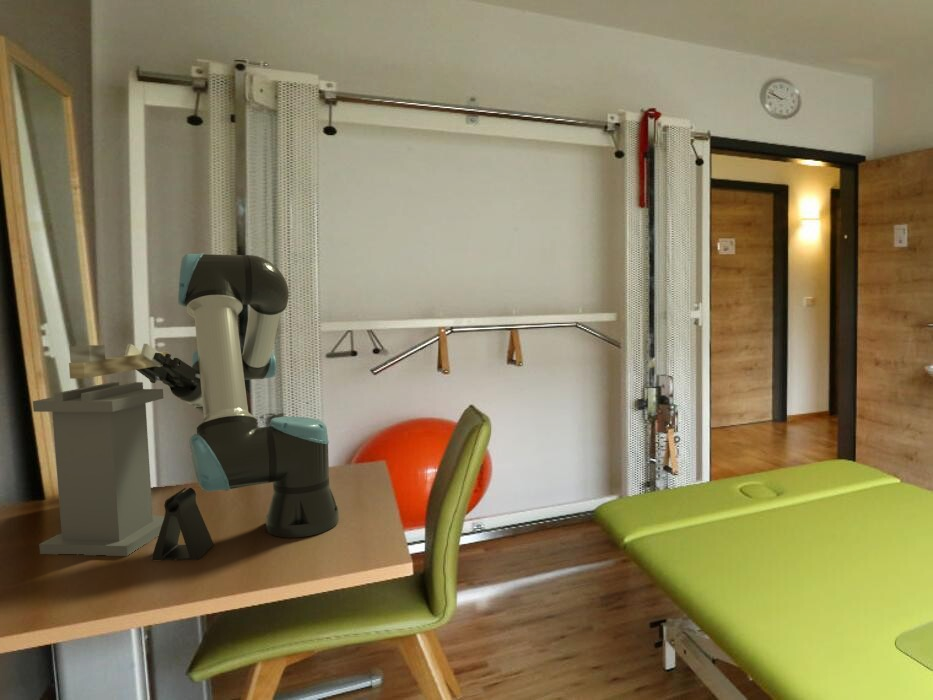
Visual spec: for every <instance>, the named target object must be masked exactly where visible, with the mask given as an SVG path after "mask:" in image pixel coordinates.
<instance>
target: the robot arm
mask: <svg viewBox="0 0 933 700" xmlns="http://www.w3.org/2000/svg"><path fill="white" fill-rule="evenodd" d="M177 295H178V298H177V301H178V305H179V306H182V307H185V310H186V313H187V314H188V315H189V316H190V317H191V318H193V319H194V324H195V335H196V336H195V337H196V347H197V349H196V350H195V351H193V353H192V354H191V365H189V364H187V363H186V362H184V361H183V360H182V359H180V358H179V357H174V358H173V359H172V358H171V357H172V354H170V353H169V354H166V355H165V356H164V355H162V354H161V353H159V352H158V350H156V349H155V348H154V347H152V346H151V345H150V344H148V343H143V346H142V349H139V348H138V347H137V346H135V345H133V344H132V343H127V346H126V349H125V352H124V356H125V355H133V354H140V355H142V356H143V357H144V358H146V359H147V360H149V361H150V362H152V363H153V364H155V365H156V366H154V367H148V368H143V369H137V370H136V371H137V372H138V373H140V375H141V374H142V376H144V377H145V378H147V379H148V380H149V383H152V384H155V383H156V382H159V381H160V382H162V383H163V384H164V385H167V386H169V390H170V392H171V393H172V394H173V395H174V396H175V397H177V398H178V399H180V400H181V401H183V402H185V403H186V404H188V405H190V406H191V407H192V408H193V409H196V410H197V411H198V412H200V413H202V414H203V419H202V420H201V421H200V422H199V423H198V424H197V426H196V433H194V434H193V435H191V436H190V437H189V446H190V452H191V459H192V464H193V468H194V469H193V470H194V472H195V476H196V479H197V482H198V485H199V487H200V489H202V490H203V491H205V492H208V493H214V492H221V491H225V492H228V491H230V490H234V489H235V490H236V489H239V488H245V487H251V486H257V485H265V484H268V483H269V484H271V483H273V484H272V485H273V487H272V488H273V491H272V492H273V493H272V497H271V500H270V504H269V508H268V511H267V515H266V518H265V523H266V524H265V527H266V531H267V533H269V534H271V536H272V535H273V536H275V537H280V538H291V539H292V538H304V537H311V536H314V535H319V534H321V533H324V532H327V531H329V530H331V529H332V528H334V527H335V526H337V524H338V523H339V521H340V520H339V519H340V516H339V514H340V512H339V507H338V505H337V503H336V499H335V498H334V497H335V496H334V495H333V491H332V489H331V487H330V461H329V443H330V440H329V438H328V437H329V436H328V435H329V434H328V428H327V425H326V424H325V423H324V422H323V421H321V420H320V419H317V418H312V417H307V416H306V417H305V416H279V417H274V418H271V419H270V422H269V426H263V427H262V426H261V427H259V425H258V419H257V416H254V415H253V414H252V413H250V412H249V407H248V399H247V397H248V396H247V391H246V384H245V382H246V380H247V381H248V380H249V381H250V380H265V379H269V378H274V377H275V376H276V373H277V360H276V356H275V353H273V348H274V343H275V339H276V336H277V331H278V326H279V322H280V318H281V314H282V313H283V312H284V311H285V310H286V308H287V306H288V302H289V295H290V292H289V286H288V283H287V281H286V277H284V275H283V273H282V272H281V271H280V269H279V268H278V267H277V266H275V265H274V264H273V263H272V262H271V261H269V260H267V259H266V258H264V257H260V256H258V255H254V254H253V255H252V254H209V253H207V254H206V253H205V252H202V253H186V254H185V255H183V256H182V258H181V260H180V268H179V281H178V294H177ZM243 305H244V306H245V305H246V306H247V305H248V306H249V311H248V313H249V314H248V317H247V323H246V324H247V325H246V331H245V336H244V344H243V350H241V349H242V348H241V342H240V335H239V325H238V318H237V316H239V314H240V313H242V310H243V309H244V307H243ZM161 364H162V365H161Z"/></svg>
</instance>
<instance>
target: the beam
mask: <svg viewBox="0 0 933 700" xmlns="http://www.w3.org/2000/svg"><path fill="white" fill-rule="evenodd" d="M157 351H158V350H157ZM158 352H159V353H161V354H162V355H164V356H165V355H166V354H170V352H169V350H167V351H163V350H161V351H158ZM69 357H70V359H69V360H70V361H69V363H68V368H69V379H72V380H73V379H82V380H83V379H89V378H95V377H102V376H108V375H111V374H114V375H115V374H119V373H125V372H129V371H137V369H143V368H148V367H154V366H156V365H155V364H153V363H152V362H150V361H149V360H147V359H146V358H144V357H143V356H142V355H140V354H133V355H125V354H124V355H120V356H118V355H117V356H111V357H106V346H105V344H100V345H99V344H96V345H95V344H92V345H91V344H89V345H85V344H83V345H75V346H69ZM161 366H162V364H161Z"/></svg>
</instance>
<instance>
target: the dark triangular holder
mask: <svg viewBox="0 0 933 700" xmlns="http://www.w3.org/2000/svg"><path fill="white" fill-rule="evenodd" d="M196 497H197V493H196V491H195V489H193V488H192V487H189V488H186V487H184V488H182V489H181V490H179V491H178V492H176V493H175V494H173V495H171V496H170V497H169V498H167V499H166V500H165V501H164V505H163V507H164V511H165V513H164V516H165V517H164V520H163V523H162V527H161V530H160V533H159V536H158V537H157V538H156V543H155V547H154V550H153V553H152V556H151V560H152V561H153V560H161V561H198V560H200V559H201V558H202V557H203V556H204V555H205V554H206V553H207V552H208V551H210V549H212V547H214V541H213V539H212V536H211V534H210V532H209V530H208V527H207V525H206V523H205V522H206V521H205V520H204V519H203V518H204V517H203V516H202V514H201V511H200V509H199V506H198V504H197V501H196V499H197V498H196ZM181 535H182V537H183V541H184V544H179V539H180V536H181ZM175 559H176V560H175Z"/></svg>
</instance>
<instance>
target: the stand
mask: <svg viewBox="0 0 933 700" xmlns="http://www.w3.org/2000/svg"><path fill="white" fill-rule="evenodd" d="M53 395H54V396H51V397H47V398H42V399H37V400H33V401H32V409H33V412H35V413H36V412H37V413H38V412H43V413H45V412H47V413H48V412H49V413H52V422H53V423H52V424H53V425H52V426H53V438H54V440H53V441H54V449H55V450H54V451H55V453H54V454H55V463H56V465H55V467H56V477H57V479H56V480H57V489H58V490H57V491H58V502H59V503H58V504H59V505H58V506H59V516H60V517H59V518H60V530H61V533H60V532H59V533H58V534H56V535H54V536H52V537H51V538H49V539H47V540H44V541H42V542H41V543H40V542H39V544H38V546H39V547H38V548H39V555H58V554H77V555H76V556H79V555H78V554H84V555H83V556H96V555H106V556H107V557H129V556H130V555H132V554H133V553H135V552H136V551H138V550H139V549H141V548H143V547H144V546H145V545H144V544H146V543H147V544H148V542H149V543H151V542H152V541H153V540H155V539H156V538H158V537H157V536H158V535H159V533H160V530H161V527H162V523H163V520H164V517H165V515H153V501H152V487H151V486H152V484H151V483H152V482H151V470H150V453H149V438H148V437H149V436H148V434H149V433H148V423H147V422H148V419H147V407H146V405H147V404H148V403H151V402H155V401H158V400H159V401H160V400H163V399H164V388H144V383H143V382H142V381H136V382H130V383H125V384H120V382H119V381H116V382H115V381H112V382H107V383H102V384H101V383H100V384H97V385H96V384H95V385H92V386H86V387H81V388H77V389H76V388H75V389H71V390H70V389H69V390H65V391H59V392H55V393H53ZM155 537H156V538H155ZM154 538H155V539H154ZM152 539H153V540H152ZM151 540H152V541H151ZM147 544H146V545H147ZM143 545H144V546H143ZM142 546H143V547H142ZM140 547H141V548H140ZM138 548H139V549H138ZM137 549H138V550H137ZM135 550H136V551H135ZM134 551H135V552H134ZM132 552H133V553H132ZM131 553H132V554H131ZM129 554H130V555H129ZM128 555H129V556H128ZM106 556H105V557H106Z"/></svg>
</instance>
